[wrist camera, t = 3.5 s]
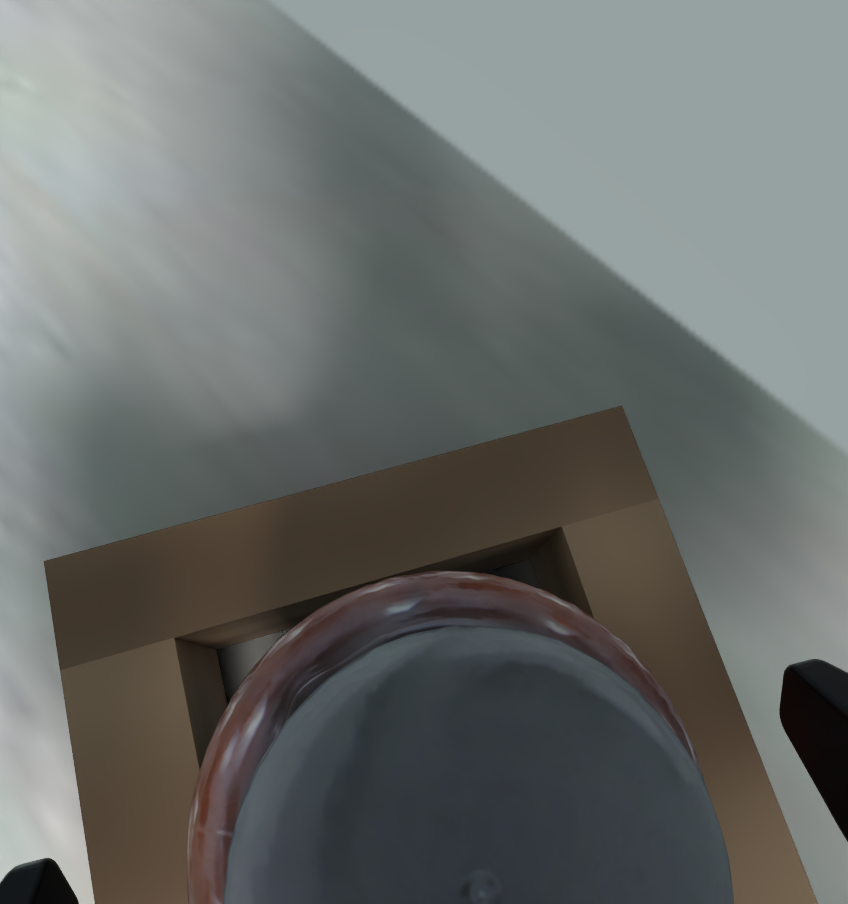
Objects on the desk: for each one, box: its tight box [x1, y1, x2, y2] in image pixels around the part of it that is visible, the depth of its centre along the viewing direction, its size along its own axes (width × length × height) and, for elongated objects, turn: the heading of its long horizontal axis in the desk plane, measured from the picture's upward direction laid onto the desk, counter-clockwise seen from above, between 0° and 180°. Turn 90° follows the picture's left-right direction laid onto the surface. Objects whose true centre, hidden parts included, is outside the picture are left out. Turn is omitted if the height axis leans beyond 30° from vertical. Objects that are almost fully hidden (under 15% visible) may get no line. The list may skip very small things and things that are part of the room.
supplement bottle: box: [187, 571, 734, 904], centre depth 11 cm, size 6×6×11 cm
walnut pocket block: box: [44, 406, 818, 904], centre depth 15 cm, size 11×11×4 cm
